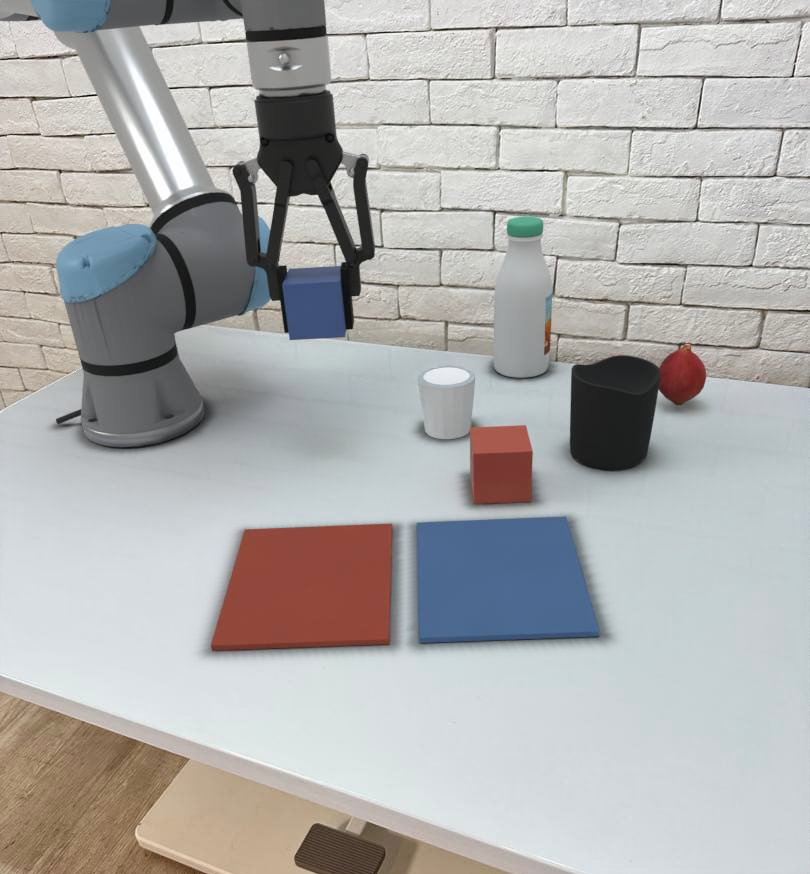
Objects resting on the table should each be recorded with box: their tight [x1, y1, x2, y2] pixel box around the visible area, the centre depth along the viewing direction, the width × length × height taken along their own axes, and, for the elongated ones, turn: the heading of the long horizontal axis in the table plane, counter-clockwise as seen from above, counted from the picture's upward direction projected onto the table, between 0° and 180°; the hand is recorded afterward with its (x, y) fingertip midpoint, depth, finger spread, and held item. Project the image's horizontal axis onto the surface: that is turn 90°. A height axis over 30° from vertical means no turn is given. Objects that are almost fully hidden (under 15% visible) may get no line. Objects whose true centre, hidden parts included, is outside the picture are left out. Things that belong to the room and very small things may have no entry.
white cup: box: [417, 364, 476, 440], centre depth 103 cm, size 7×7×7 cm
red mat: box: [210, 522, 393, 651], centre depth 79 cm, size 15×18×1 cm
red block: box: [469, 424, 534, 505], centre depth 90 cm, size 6×6×6 cm
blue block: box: [282, 265, 347, 341], centre depth 92 cm, size 6×6×6 cm
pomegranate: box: [658, 343, 707, 406], centre depth 105 cm, size 6×6×8 cm
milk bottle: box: [493, 216, 553, 379], centre depth 114 cm, size 8×8×20 cm
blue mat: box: [416, 515, 600, 644], centre depth 78 cm, size 15×18×1 cm
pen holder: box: [569, 354, 661, 471], centre depth 95 cm, size 9×9×10 cm
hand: (319, 326), depth 94 cm, fingers closed on blue block, 6 cm apart
